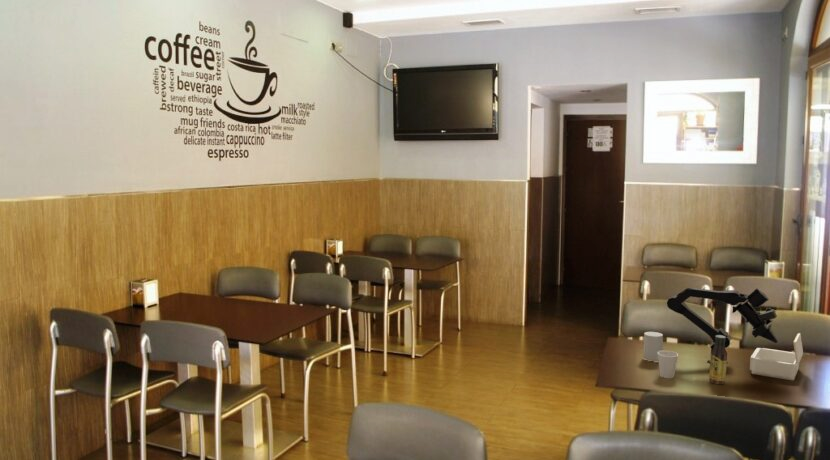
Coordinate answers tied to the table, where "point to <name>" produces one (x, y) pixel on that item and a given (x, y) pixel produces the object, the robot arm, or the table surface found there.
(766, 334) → the robot arm
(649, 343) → the cup
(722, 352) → the sauce bottle
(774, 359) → the carton
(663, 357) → the dixie cup
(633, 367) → the table surface
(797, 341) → the carton flap
